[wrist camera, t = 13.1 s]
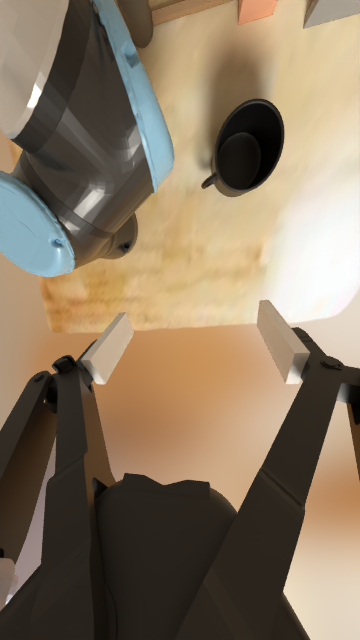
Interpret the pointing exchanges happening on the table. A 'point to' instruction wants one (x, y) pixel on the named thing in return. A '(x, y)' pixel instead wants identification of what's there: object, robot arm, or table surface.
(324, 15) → the lane shelf
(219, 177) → the mug
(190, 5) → the block
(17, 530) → the robot arm
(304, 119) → the table surface
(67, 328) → the table surface
